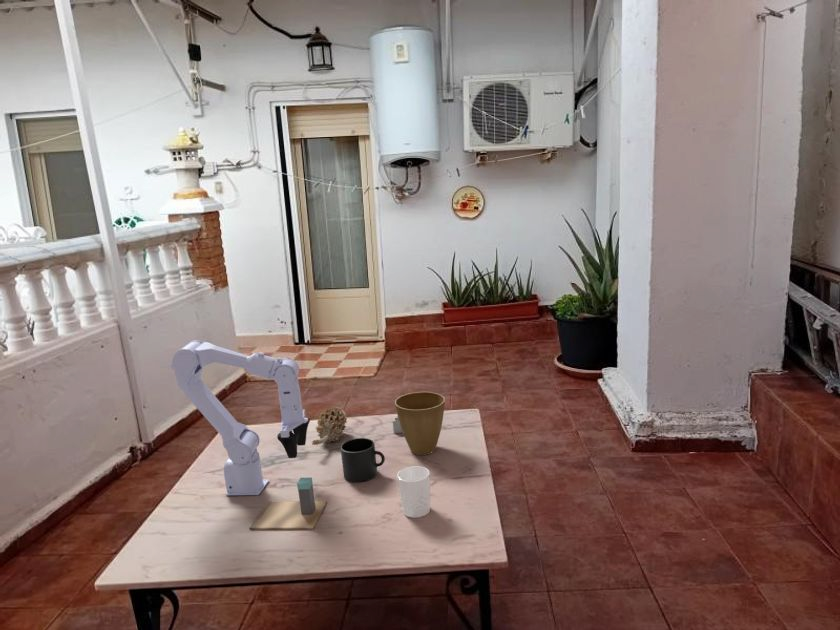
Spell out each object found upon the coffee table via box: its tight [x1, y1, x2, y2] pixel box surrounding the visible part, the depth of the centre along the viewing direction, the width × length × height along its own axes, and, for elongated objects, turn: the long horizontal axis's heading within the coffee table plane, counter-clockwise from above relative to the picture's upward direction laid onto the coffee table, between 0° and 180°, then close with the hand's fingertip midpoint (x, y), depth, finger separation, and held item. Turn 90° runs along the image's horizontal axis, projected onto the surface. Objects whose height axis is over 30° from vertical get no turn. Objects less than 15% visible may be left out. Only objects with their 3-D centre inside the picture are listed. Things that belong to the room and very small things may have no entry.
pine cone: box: [311, 406, 348, 446], centre depth 189 cm, size 22×10×10 cm, turn 173°
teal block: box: [296, 477, 316, 515], centre depth 149 cm, size 3×3×9 cm
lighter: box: [392, 415, 403, 435], centre depth 194 cm, size 7×2×8 cm, turn 93°
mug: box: [340, 437, 386, 483], centre depth 167 cm, size 9×12×9 cm
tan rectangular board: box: [248, 500, 328, 531], centre depth 149 cm, size 16×12×1 cm
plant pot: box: [394, 391, 446, 456], centre depth 179 cm, size 15×15×16 cm
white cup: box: [396, 465, 431, 519], centre depth 146 cm, size 8×8×10 cm
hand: (297, 451), depth 163 cm, fingers open, 7 cm apart
